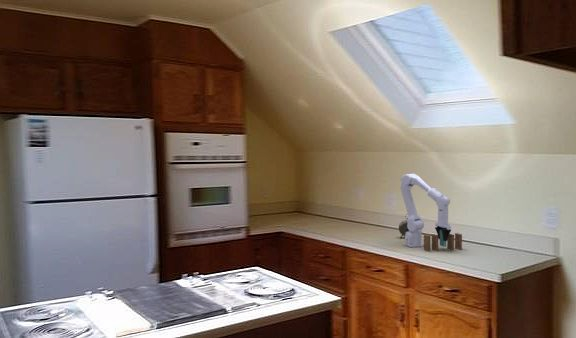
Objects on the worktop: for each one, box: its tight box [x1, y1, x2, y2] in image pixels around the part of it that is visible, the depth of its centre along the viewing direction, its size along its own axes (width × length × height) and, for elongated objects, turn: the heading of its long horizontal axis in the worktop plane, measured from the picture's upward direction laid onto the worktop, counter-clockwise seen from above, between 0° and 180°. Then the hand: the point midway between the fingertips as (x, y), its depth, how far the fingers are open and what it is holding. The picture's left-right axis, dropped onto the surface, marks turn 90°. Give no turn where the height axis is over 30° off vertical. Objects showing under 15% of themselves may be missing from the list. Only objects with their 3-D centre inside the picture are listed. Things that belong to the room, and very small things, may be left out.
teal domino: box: [439, 230, 447, 248], centre depth 294 cm, size 2×5×9 cm, turn 12°
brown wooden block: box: [423, 234, 431, 253], centre depth 292 cm, size 2×5×9 cm, turn 12°
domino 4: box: [454, 232, 463, 251], centre depth 296 cm, size 2×5×9 cm, turn 12°
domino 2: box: [431, 233, 439, 252], centre depth 293 cm, size 2×5×9 cm, turn 12°
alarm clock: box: [398, 213, 409, 239], centre depth 332 cm, size 11×5×16 cm, turn 90°
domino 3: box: [446, 232, 455, 251], centre depth 295 cm, size 2×5×9 cm, turn 12°
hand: (442, 240), depth 294 cm, fingers closed on teal domino, 5 cm apart
